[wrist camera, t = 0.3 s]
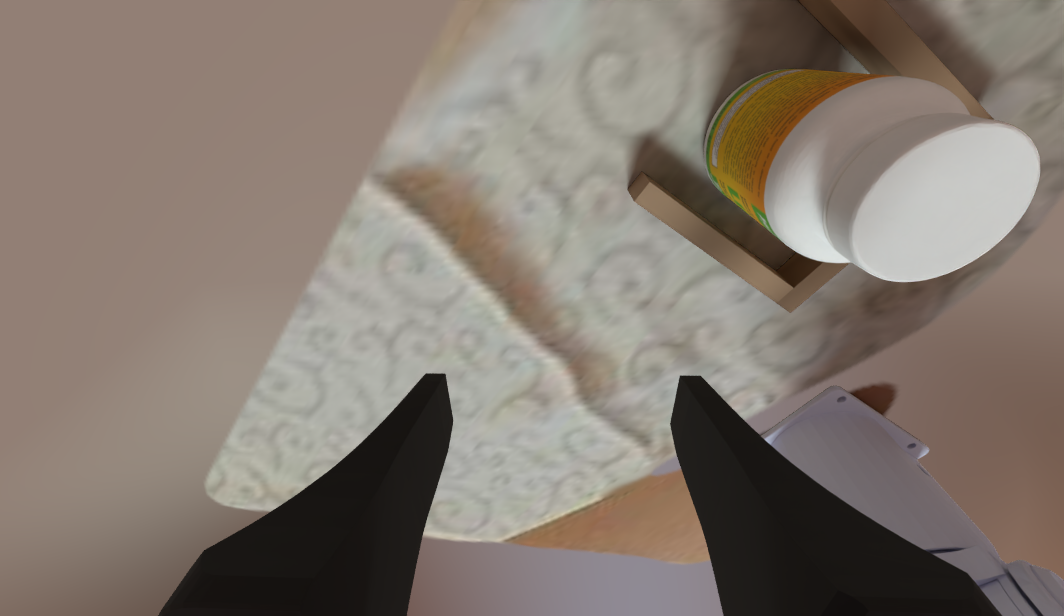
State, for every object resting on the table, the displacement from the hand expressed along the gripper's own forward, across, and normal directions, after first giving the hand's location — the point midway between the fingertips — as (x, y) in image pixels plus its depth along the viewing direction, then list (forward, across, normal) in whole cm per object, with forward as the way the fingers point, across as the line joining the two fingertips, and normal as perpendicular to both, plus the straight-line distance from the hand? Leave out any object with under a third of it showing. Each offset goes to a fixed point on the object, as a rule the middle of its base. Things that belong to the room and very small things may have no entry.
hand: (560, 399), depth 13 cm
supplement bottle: (+10, -9, -6) cm, 15 cm away
